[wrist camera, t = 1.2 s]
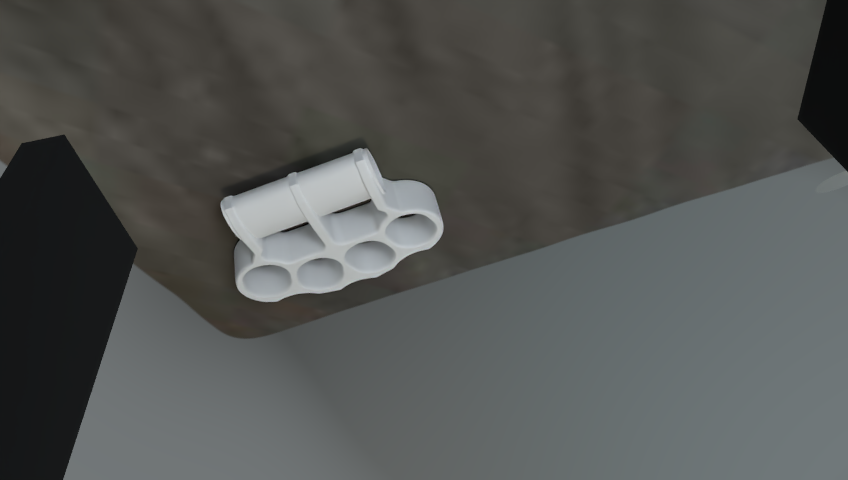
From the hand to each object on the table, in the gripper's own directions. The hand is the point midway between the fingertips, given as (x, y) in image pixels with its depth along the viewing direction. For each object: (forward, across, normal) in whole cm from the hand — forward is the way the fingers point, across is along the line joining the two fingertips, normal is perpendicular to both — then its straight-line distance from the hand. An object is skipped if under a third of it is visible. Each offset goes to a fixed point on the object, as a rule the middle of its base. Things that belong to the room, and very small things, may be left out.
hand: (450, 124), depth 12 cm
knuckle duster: (+33, -10, -28) cm, 45 cm away
